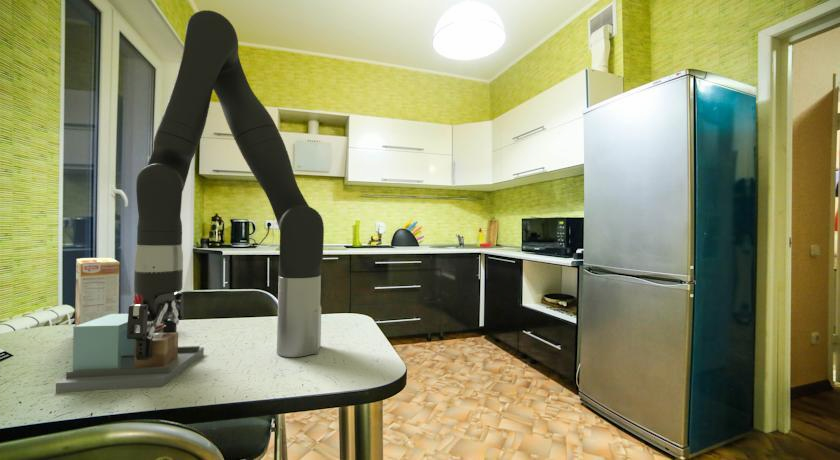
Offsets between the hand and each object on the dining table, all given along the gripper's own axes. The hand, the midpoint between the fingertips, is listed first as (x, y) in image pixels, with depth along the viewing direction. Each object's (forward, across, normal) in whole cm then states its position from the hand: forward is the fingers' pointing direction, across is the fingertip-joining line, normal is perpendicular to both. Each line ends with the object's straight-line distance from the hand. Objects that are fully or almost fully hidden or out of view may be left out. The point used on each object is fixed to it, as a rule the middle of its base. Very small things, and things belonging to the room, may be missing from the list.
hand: (157, 351), depth 67 cm
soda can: (+4, +29, +17) cm, 34 cm away
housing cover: (+2, 0, +8) cm, 8 cm away
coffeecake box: (+4, +22, +25) cm, 34 cm away
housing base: (+4, 0, +3) cm, 5 cm away
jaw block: (+2, 0, 0) cm, 2 cm away
